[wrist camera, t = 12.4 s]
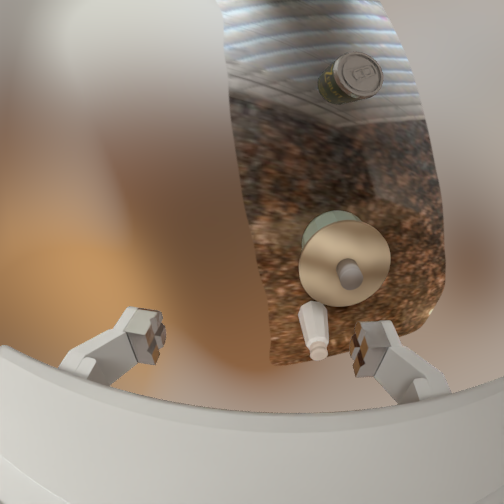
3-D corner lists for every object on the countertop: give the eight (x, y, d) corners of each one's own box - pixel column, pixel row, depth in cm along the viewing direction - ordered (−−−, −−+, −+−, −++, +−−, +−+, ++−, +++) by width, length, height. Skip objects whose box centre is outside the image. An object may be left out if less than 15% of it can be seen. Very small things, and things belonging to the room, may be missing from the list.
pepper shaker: (332, 308, 48) (343, 351, 38) (314, 326, 50) (320, 370, 41) (310, 295, 47) (317, 339, 37) (291, 315, 49) (294, 359, 40)
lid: (303, 216, 33) (306, 228, 30) (396, 223, 33) (409, 235, 29) (294, 301, 39) (295, 319, 36) (376, 302, 39) (383, 319, 35)
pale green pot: (304, 207, 40) (310, 224, 34) (373, 212, 39) (389, 230, 33) (298, 271, 45) (301, 296, 39) (360, 273, 44) (372, 297, 38)
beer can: (342, 65, 30) (369, 44, 19) (359, 97, 32) (393, 89, 21) (309, 77, 31) (325, 59, 21) (328, 110, 33) (351, 105, 23)
